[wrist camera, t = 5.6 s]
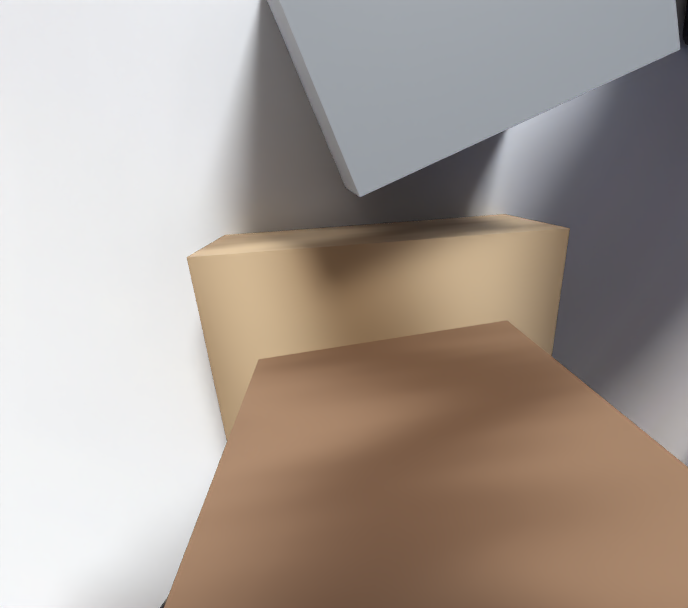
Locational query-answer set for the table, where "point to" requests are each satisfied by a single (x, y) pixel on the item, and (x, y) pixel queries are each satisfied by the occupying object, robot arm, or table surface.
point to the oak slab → (370, 288)
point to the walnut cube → (436, 486)
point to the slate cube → (454, 69)
